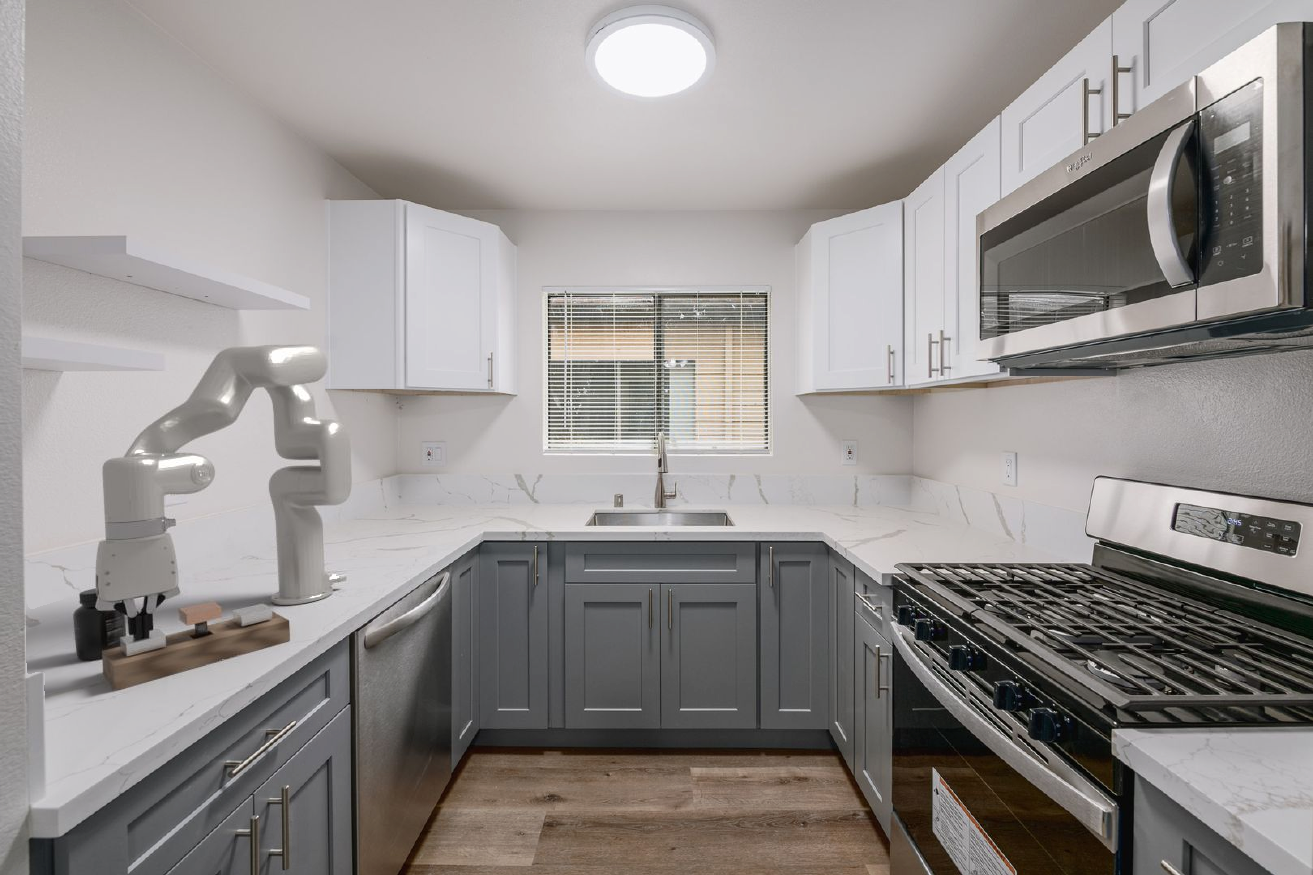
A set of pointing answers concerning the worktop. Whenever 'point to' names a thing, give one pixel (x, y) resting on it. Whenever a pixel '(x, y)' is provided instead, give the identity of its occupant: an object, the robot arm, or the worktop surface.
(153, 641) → the button
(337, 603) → the worktop surface
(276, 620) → the button panel
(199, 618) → the middle button
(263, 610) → the button
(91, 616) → the supplement bottle
